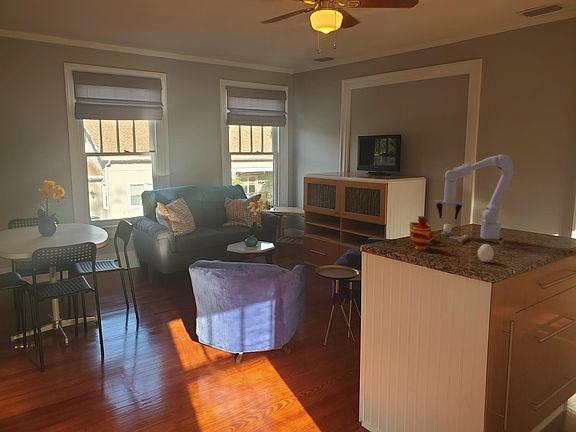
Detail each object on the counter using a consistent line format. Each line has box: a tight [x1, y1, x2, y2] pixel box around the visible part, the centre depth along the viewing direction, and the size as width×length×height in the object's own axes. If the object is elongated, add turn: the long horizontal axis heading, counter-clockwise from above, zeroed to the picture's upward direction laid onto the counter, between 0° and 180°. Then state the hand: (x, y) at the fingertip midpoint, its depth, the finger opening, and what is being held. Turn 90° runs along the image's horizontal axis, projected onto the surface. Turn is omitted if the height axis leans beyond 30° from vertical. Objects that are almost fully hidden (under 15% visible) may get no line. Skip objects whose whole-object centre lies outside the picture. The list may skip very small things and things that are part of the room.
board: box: [448, 235, 468, 241], centre depth 231 cm, size 14×20×2 cm
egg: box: [477, 243, 494, 263], centre depth 188 cm, size 6×6×8 cm
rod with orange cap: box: [456, 234, 469, 242], centre depth 223 cm, size 14×2×2 cm, turn 145°
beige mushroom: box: [440, 223, 454, 237], centre depth 238 cm, size 6×6×6 cm
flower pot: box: [409, 221, 431, 234], centre depth 226 cm, size 9×9×9 cm
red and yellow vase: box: [409, 215, 434, 250], centre depth 210 cm, size 10×10×15 cm
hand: (448, 218), depth 237 cm, fingers open, 7 cm apart
